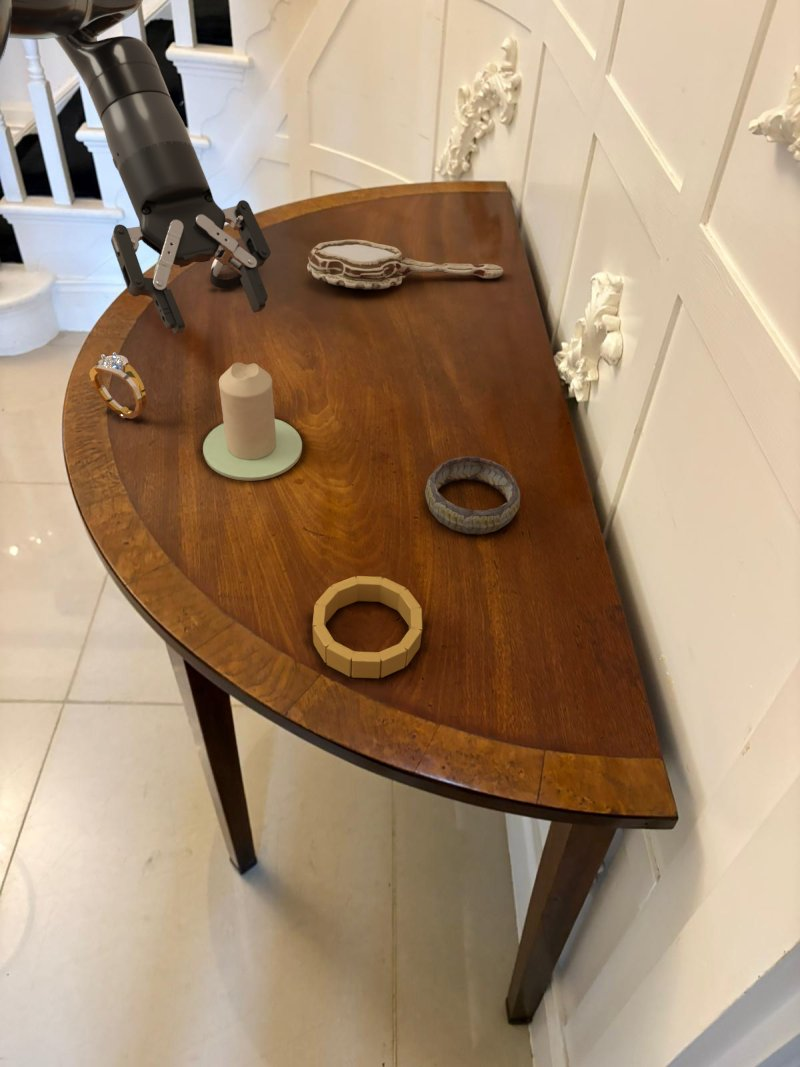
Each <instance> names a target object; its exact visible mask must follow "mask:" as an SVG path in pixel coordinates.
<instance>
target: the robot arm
mask: <svg viewBox="0 0 800 1067" xmlns="http://www.w3.org/2000/svg"><path fill="white" fill-rule="evenodd" d="M143 1H144V0H0V64H1V63H2V61H3V58H4V56H5V53H6V49H7V46H8V43H9V39H19V40H32V41H33V40H35V41H36V40H37V41H38V40H47V39H54V40H55V41H56V42H57V43H58V45H59V46H60V48H61V49H62V51H63V52H64V53H65V54H66V57H68V59H69V61H70V62H71V63H72V65H73V67H74V68H75V69H76V71H77V73H78V74H79V76H80V78H81V79H82V81H83V83H84V84H85V87H86V89H87V91H88V94H89V96H90V99H91V100H92V101H91V102H92V103H93V106H94V108H95V110H96V111H95V112H96V114H97V116H98V118H99V120H100V123H101V125H102V129H103V132H104V135H105V140H106V143H107V146H108V150H109V152H110V154H111V157H112V163H113V165H114V167H115V168H116V170H117V171H118V173H119V174H118V175H119V176H120V179H121V181H122V184H123V186H124V188H125V191H126V194H127V196H128V199H129V200H130V203H131V205H132V208H133V210H134V213H135V215H136V218H137V219H138V223H139V226H135V227H134V226H133V227H126V226H125V225H124V224H116V225H115V226H114V228H113V232H112V235H111V238H110V241H111V242H110V243H111V245H112V248H113V251H114V254H115V257H116V260H117V262H118V266H119V268H120V271H121V274H122V277H123V280H124V283H125V285H126V288H127V291H128V293H129V294H130V296H132V297H139V296H144V297H145V296H146V297H149V298H151V300H152V301H153V302H154V305H155V307H156V310H157V312H158V314H159V317H160V319H161V322H162V324H163V326H164V327H165V328H166V329H167V330H172V332H173V334H174V335H176V334H181V333H183V332H184V330H185V329H186V324H185V321H184V319H183V316H182V313H181V311H180V309H179V307H178V304H177V302H176V299H175V297H174V294H173V292H172V289H171V288H167V285H168V281H169V278H170V274H171V270H172V268H173V265H175V266H179V268H185V267H188V266H190V265H192V264H193V263H205V262H210V260H211V259H212V258H213V259H214V260H215V259H216V260H218V261H219V262H220V263H222V264H224V265H223V266H228V267H230V268H231V269H232V270H234V271H235V272H237V274H241V275H242V277H241V278H240V280H241V283H240V284H241V286H242V287H243V291H244V293H245V295H246V298H247V300H248V303H249V305H250V307H251V310H252V312H253V313H260V312H262V311H263V310H264V309H265V307H266V302H267V301H268V292H267V290H266V287H265V284H264V282H263V280H262V278H261V274H260V273H259V268H261V267H262V266H263V265H264V264H265V263H266V261H267V260H268V258H270V256H271V254H272V252H271V249H270V246H269V244H268V242H267V240H266V238H265V236H264V234H263V232H262V229H261V227H260V225H259V223H258V221H257V219H256V217H255V214H254V211H253V210H252V208H251V206H250V203H249V202H248V201H247V200H244V199H242V200H241V199H240V200H239V201H238V203H237V204H236V205H234V206H230V207H227V208H221V207H220V206H219V205H218V204H217V203H216V201H215V200H214V196H213V194H212V190H211V187H210V185H209V183H208V180H207V178H206V175H205V172H204V169H203V167H202V165H201V162H200V160H199V157H198V154H197V152H196V150H195V148H194V145H193V142H192V139H191V137H190V135H189V133H188V130H187V128H186V125H185V123H184V121H183V119H182V117H181V115H180V113H179V111H178V109H177V108H176V106H175V104H174V102H173V100H172V97H171V95H170V93H169V89H168V87H167V85H166V82H165V80H164V77H163V75H162V72H161V69H160V67H159V64H158V62H157V60H156V57H155V55H154V53H153V51H152V50H151V49H150V47H149V46H148V45H147V44H146V43H145V42H144V41H143V40H141V39H139V38H138V37H134V36H129V35H118V36H112V37H108V38H103V39H100V40H98V37H99V36H100V35H102V34H104V33H106V32H107V31H109V30H110V29H112V28H114V27H115V26H117V25H118V24H120V23H121V22H122V21H125V20H126V19H128V18H129V17H131V16H132V15H133V14H135V13H136V12H137V11H138V10H139V9H140V7H141V6H142V4H143ZM226 224H228V225H230V226H231V228H232V230H234V231H237V232H238V234H239V236H240V238H241V240H242V242H243V244H244V247H245V249H246V250H245V249H244V248H242V247H241V246H240V243H239V242H238V241H237V240H236V239H235V238H234V237H232V236H231V235H230V234H229V233H227V232H226V231H224V228H225V225H226ZM140 241H142V242H143V243H144V244H145V245H146V246H147V247H149V248H150V249H152V250H153V251H154V252H156V253H157V254H158V258H157V261H156V264H155V267H154V271H153V276H152V277H145V276H144V273H143V271H142V268H141V265H140V261H139V259H138V256H137V252H138V250H139V246H140V243H139V242H140Z"/></svg>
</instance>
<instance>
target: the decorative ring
mask: <svg viewBox="0 0 800 1067" xmlns="http://www.w3.org/2000/svg"><path fill="white" fill-rule="evenodd" d="M459 481H475V482H479V483H483V484H486V485H488V486H490V487H492V488H494V489H496V490H497V491H498V492H499V493H501V495H502V496H503V497H504V498H505V500H506V501H507V502H505V503H503V504H502V505H500V506H498V507H495V508H490V509H486V510H485V509H484V510H481V509H480V510H479V509H469V508H465V507H461V506H457V505H456V504H454V503H452V502H451V501H448V500H447V499H445V498H444V496H443V495H442V494H441V493H440V491H439V489H440V488H442V487H444V486H446V485H448V484H450V483H453V482H459ZM424 496H425V500H426V503H427V507H428V510H429V512H430V513H431V514H432V516H433V517H434V518H435V519H436V520H437V521H438V523H440V524H442V525H443V526H445V527H446V528H449V530H452V531H455V532H458V533H462V534H465V535H485V534H489V533H495V532H498V531H499V530H500V529H502V528H503V527H505V526H507V525H508V524H510V523H511V521H512V520H513V518H514V517H515V515H516V514H517V513H518V511H519V509H520V504H521V490H520V487H519V486H518V483H517V480H516V478H515V477H514V475H513V474H512V473H511V472H510V471H509V470H508V469H507V468H506V467H505V466H503V465H501V464H499V463H497V462H495V461H494V460H490V459H487V458H483V457H479V456H460V457H455V458H450V459H448V460H446V461H445V462H443V463H441V464H439V465H438V466H437V467H436V468H435V470H433V472H432V473H431V474H430V476H428V479H427V481H426V485H425V490H424Z"/></svg>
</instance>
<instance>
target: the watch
mask: <svg viewBox="0 0 800 1067" xmlns="http://www.w3.org/2000/svg"><path fill="white" fill-rule="evenodd" d="M223 266H225V265H224V264H222V263H220V262H219V261H218V260H216V259H215V258H214V260H213V262H212V265H211V268H210V283H211V285H213V286H214V287H216V288H218V289H231V288H233V287H236V286H238V285H240V284H242V283H241V280H240V278H241V277H242V275H241V274H239V273H237V275H236V276H234V277H231V278H221V277H218V276H219V275H220V273H221V271H222V269H223Z"/></svg>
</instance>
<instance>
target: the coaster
mask: <svg viewBox="0 0 800 1067" xmlns="http://www.w3.org/2000/svg"><path fill="white" fill-rule="evenodd" d="M275 431H276V446H275V448H274V450H273V451H272V452H271V453H270V454H269V455H267V456H265V457H263V458H259V459H253V460H247V459H241V458H238V457H236V456H234V455H232V454H231V453H230V452H229V450H228V447H227V443H226V436H225V428H224V422H222V423H220V424H219V425H217V426H216V427H214V428H213V429H212V430H211V431H210V432H209V433H208V435H207V436H206V437H205V439H204V441H203V445H202V454H203V458H204V460H205V463H207V465H208V467H209V468H210V469H212V470H213V471H214V472H216V473H217V474H219V475H221V476H223V477H226V478H227V479H228V478H229V479H232V480H237V481H245V482H246V481H247V482H254V481H262V480H268V479H272V478H275V477H277V476H280V475H282V474H284V473H286V472H287V471H289V470H291V469H292V468H293V467H294V466H295V465H296V464H297V463H298V461H299V460H300V458H301V456H302V452H303V442H302V438H301V435H300V434H299V433H298V431H297V430H296V429H295V428H294V427H293V426H291V425H290V424H289V423H287V422H285V421H283V420H280V419H278V418H275Z"/></svg>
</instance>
